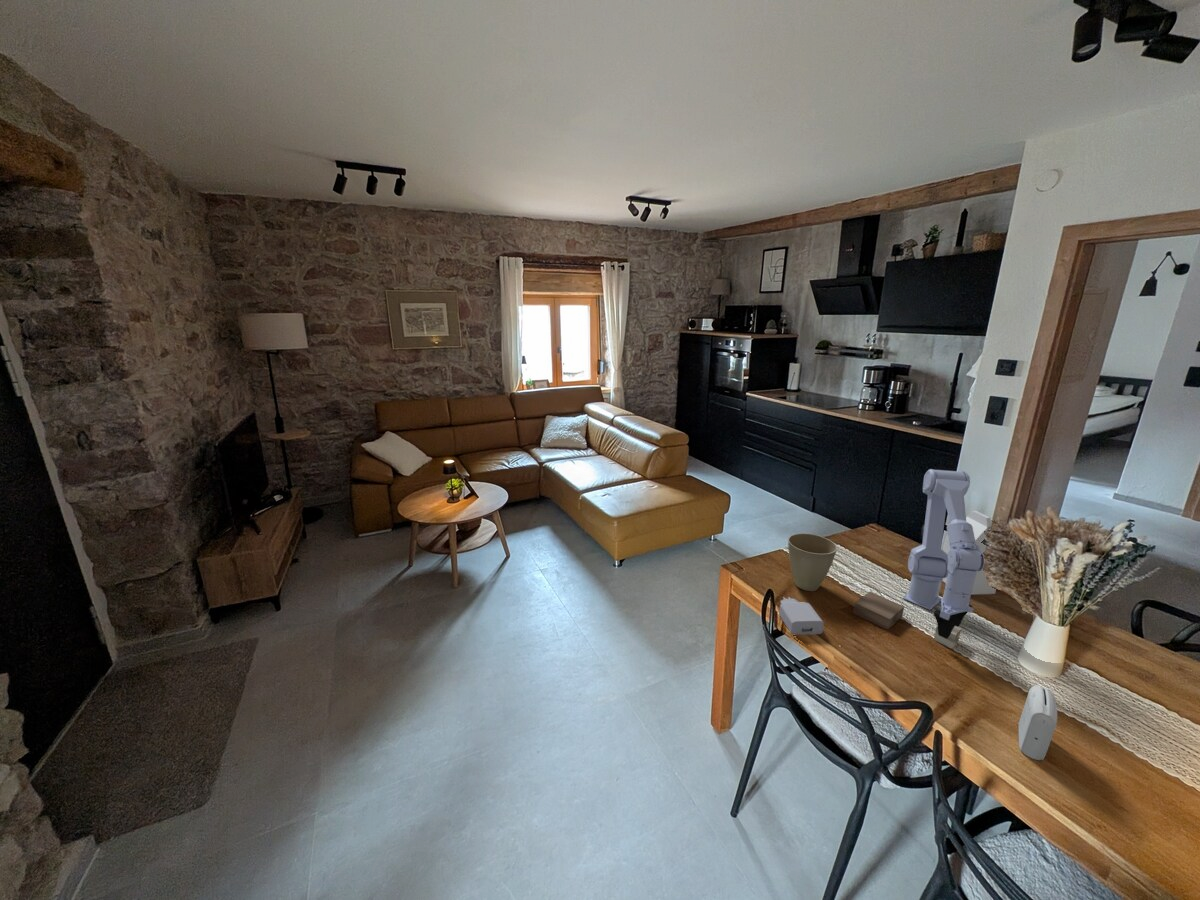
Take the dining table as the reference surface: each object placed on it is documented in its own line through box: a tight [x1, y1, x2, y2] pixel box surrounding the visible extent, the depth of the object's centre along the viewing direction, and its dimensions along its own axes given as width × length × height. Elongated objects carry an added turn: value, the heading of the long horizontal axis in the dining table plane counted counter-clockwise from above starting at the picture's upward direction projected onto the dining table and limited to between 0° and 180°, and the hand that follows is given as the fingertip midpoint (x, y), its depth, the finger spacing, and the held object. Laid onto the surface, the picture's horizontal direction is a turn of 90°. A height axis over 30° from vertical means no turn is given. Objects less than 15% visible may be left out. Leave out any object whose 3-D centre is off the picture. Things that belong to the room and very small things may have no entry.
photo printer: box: [1018, 684, 1058, 761], centre depth 98 cm, size 10×4×12 cm, turn 140°
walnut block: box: [852, 591, 905, 630], centre depth 141 cm, size 10×10×4 cm
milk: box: [941, 509, 997, 595], centre depth 154 cm, size 12×12×26 cm
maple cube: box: [933, 625, 962, 649], centre depth 130 cm, size 4×4×4 cm
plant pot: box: [787, 532, 838, 592], centre depth 155 cm, size 15×15×16 cm
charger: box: [778, 596, 825, 635], centre depth 140 cm, size 5×9×15 cm
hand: (948, 631), depth 129 cm, fingers open, 7 cm apart
